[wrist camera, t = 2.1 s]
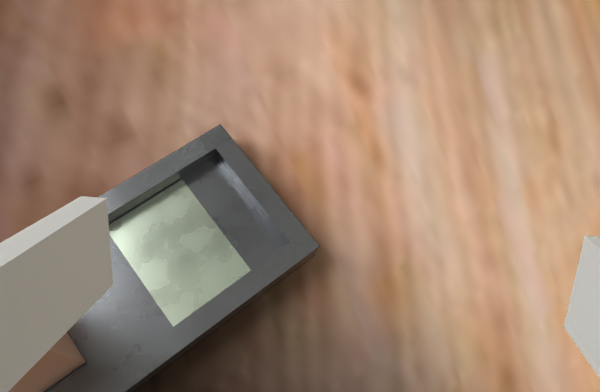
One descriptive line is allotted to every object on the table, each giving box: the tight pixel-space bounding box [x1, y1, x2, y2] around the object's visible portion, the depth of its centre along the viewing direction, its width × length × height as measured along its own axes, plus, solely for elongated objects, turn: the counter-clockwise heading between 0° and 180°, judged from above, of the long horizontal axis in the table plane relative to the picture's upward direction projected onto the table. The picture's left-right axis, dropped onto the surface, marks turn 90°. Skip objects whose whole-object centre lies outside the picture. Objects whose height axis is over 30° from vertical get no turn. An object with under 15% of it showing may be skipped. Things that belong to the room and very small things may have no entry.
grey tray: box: [44, 124, 319, 392], centre depth 37 cm, size 28×13×2 cm, turn 129°
